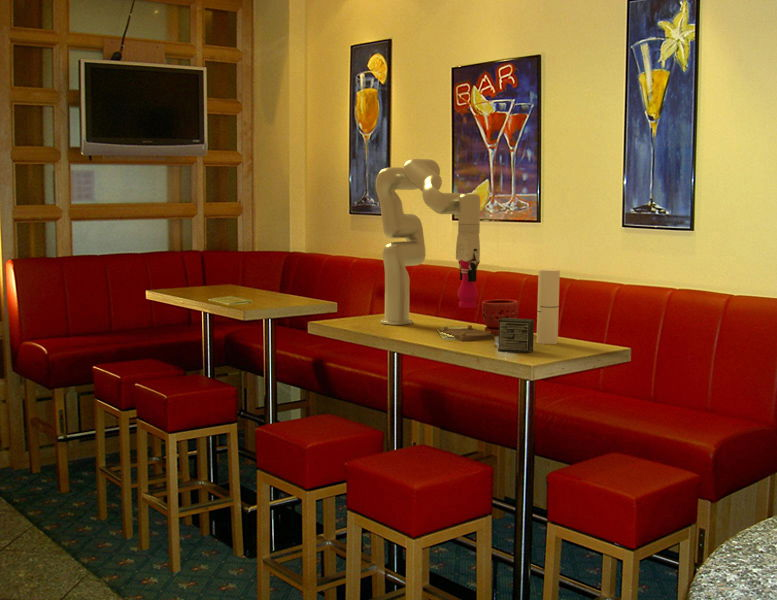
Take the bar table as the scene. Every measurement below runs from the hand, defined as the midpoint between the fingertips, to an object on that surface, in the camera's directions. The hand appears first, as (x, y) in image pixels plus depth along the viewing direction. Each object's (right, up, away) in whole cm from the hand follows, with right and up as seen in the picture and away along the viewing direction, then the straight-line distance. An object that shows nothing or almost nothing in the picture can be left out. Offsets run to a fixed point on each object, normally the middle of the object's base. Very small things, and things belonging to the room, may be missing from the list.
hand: (468, 280), depth 331 cm
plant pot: (+12, -19, +11) cm, 25 cm away
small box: (+13, -24, -26) cm, 38 cm away
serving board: (0, -20, +2) cm, 20 cm away
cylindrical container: (+26, -22, -9) cm, 35 cm away
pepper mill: (0, -10, +1) cm, 10 cm away
